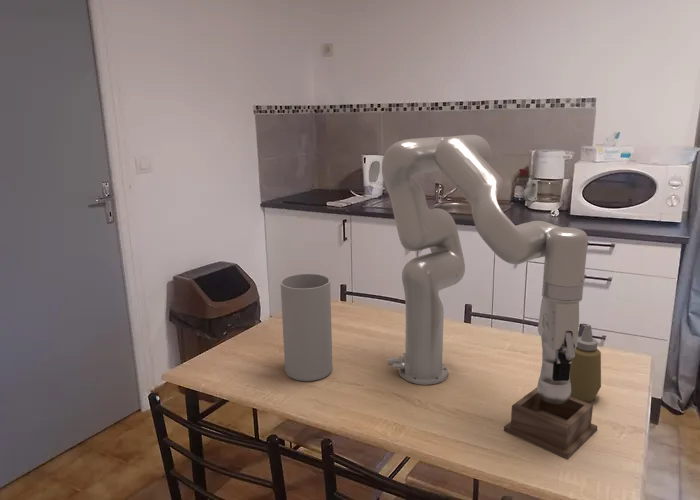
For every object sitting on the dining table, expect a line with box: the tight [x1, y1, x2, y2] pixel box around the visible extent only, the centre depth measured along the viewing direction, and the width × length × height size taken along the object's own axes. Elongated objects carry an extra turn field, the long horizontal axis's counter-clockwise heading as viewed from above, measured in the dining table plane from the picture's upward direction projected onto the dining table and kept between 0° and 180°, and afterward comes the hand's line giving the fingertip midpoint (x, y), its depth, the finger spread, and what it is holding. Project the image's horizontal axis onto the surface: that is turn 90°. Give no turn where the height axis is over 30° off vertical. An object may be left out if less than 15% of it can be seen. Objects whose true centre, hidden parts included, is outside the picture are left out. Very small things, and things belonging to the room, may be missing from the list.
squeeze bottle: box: [570, 324, 602, 403], centre depth 128 cm, size 8×8×18 cm
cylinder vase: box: [280, 273, 333, 382], centre depth 142 cm, size 12×12×25 cm
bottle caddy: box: [503, 387, 598, 460], centre depth 116 cm, size 14×14×6 cm
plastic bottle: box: [536, 328, 571, 404], centre depth 113 cm, size 6×7×20 cm
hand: (555, 372), depth 114 cm, fingers closed on plastic bottle, 5 cm apart
